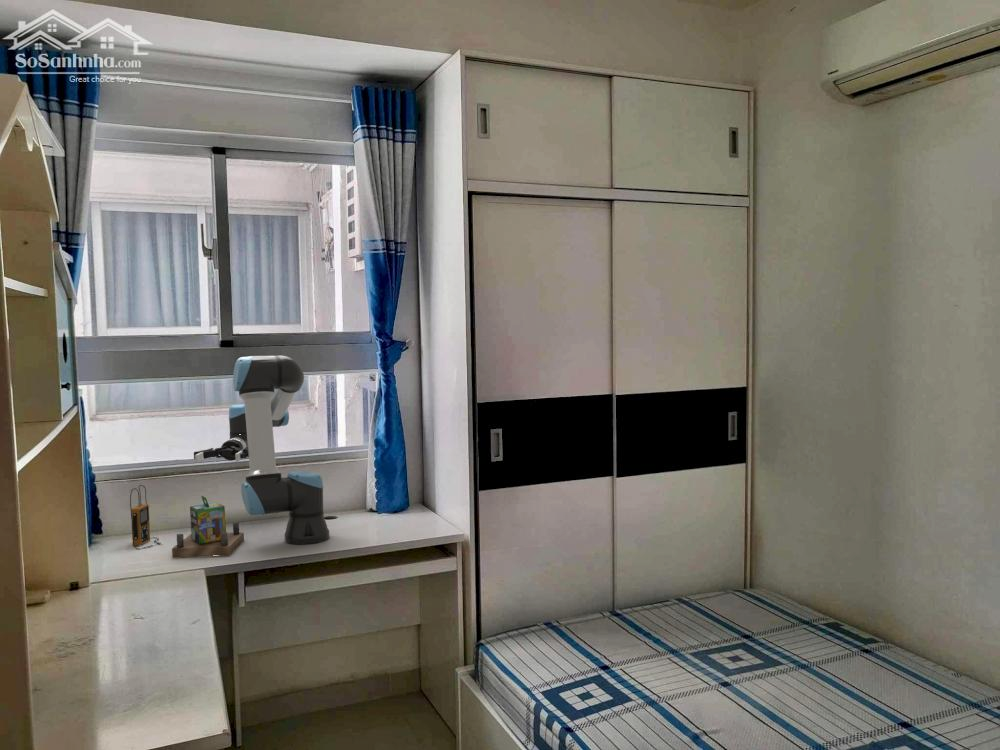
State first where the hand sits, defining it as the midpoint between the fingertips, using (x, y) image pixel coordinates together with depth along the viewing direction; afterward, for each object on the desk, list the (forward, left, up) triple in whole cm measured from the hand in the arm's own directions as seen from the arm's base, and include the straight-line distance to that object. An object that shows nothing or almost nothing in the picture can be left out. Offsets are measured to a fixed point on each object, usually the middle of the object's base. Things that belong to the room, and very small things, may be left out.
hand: (216, 458), depth 268 cm
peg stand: (-5, +10, -29) cm, 31 cm away
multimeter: (+19, +13, -29) cm, 37 cm away
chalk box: (-5, +10, -26) cm, 28 cm away
